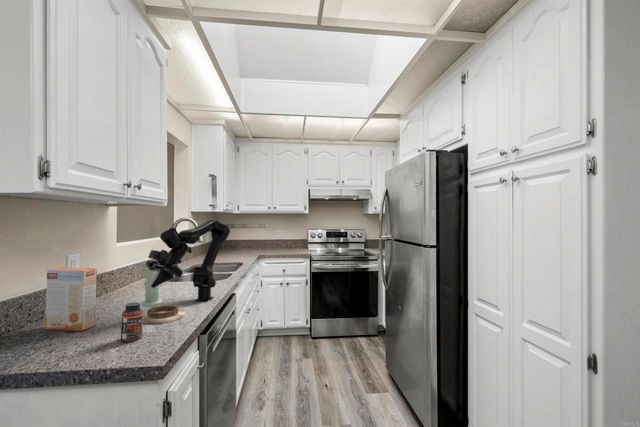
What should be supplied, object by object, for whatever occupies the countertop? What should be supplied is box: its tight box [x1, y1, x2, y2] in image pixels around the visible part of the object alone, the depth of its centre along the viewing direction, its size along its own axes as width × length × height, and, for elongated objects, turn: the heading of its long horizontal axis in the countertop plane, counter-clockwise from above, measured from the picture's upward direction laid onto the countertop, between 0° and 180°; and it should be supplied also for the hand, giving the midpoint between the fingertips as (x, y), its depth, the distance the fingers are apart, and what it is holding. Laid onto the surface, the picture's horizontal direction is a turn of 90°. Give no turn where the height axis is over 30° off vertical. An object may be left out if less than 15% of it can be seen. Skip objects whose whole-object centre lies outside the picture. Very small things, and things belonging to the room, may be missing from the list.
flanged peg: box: [141, 269, 163, 307], centre depth 116 cm, size 7×7×13 cm
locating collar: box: [143, 304, 186, 325], centre depth 117 cm, size 16×16×3 cm
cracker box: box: [44, 267, 98, 332], centre depth 104 cm, size 14×6×21 cm, turn 84°
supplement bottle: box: [120, 301, 144, 343], centre depth 95 cm, size 6×6×11 cm
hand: (148, 286), depth 115 cm, fingers closed on flanged peg, 5 cm apart
